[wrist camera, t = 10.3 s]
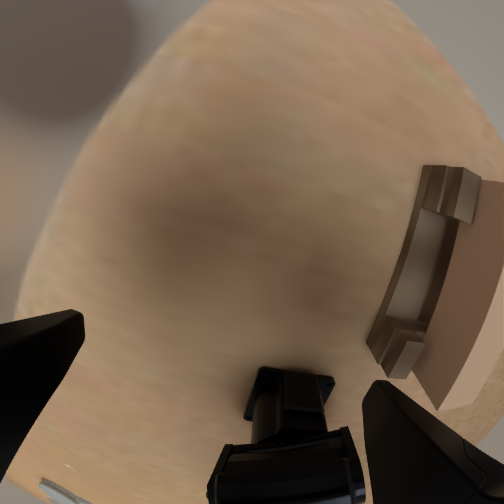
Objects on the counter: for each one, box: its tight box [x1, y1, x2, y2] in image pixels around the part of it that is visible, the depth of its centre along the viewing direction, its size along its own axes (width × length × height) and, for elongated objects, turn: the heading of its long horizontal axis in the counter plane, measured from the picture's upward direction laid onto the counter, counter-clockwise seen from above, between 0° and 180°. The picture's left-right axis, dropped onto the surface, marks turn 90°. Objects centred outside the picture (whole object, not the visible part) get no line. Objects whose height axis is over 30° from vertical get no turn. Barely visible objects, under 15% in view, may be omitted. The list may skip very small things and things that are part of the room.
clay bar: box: [412, 180, 504, 411], centre depth 13 cm, size 14×4×5 cm, turn 172°
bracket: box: [366, 165, 481, 379], centre depth 16 cm, size 14×9×5 cm, turn 167°
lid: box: [39, 479, 92, 504], centre depth 38 cm, size 17×20×3 cm
